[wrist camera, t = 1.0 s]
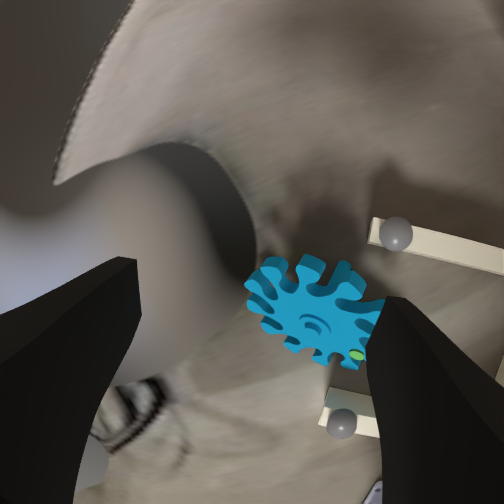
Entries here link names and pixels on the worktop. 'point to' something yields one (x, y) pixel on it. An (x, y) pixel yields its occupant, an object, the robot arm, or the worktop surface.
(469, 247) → the gear housing
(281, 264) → the gear
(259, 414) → the worktop surface
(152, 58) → the worktop surface
